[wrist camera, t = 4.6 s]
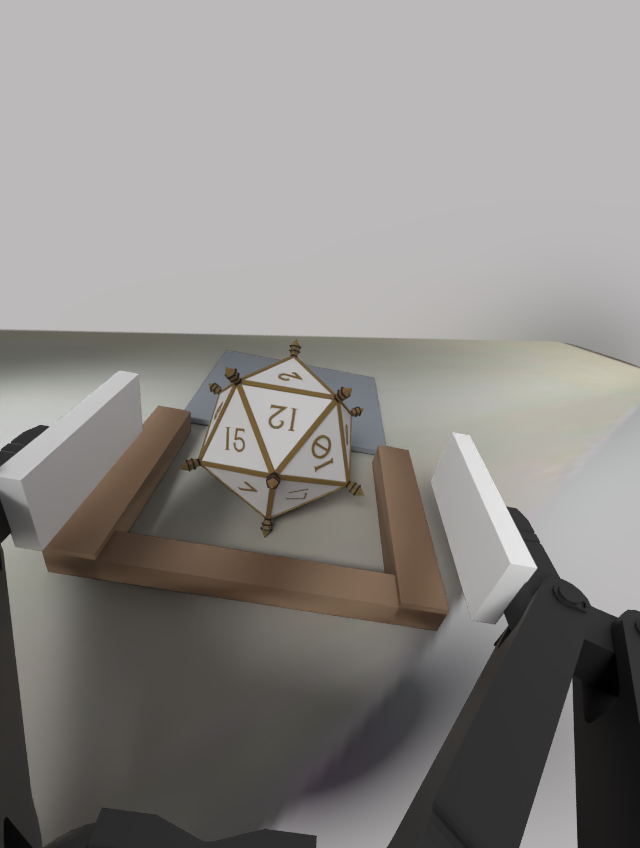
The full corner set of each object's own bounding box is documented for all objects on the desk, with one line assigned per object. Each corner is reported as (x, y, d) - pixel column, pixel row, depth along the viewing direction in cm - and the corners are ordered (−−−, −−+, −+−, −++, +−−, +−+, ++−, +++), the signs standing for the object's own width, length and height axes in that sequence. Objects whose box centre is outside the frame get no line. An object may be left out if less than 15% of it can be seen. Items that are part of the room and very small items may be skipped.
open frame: (47, 571, 15) (40, 546, 14) (159, 425, 25) (158, 405, 24) (436, 630, 16) (449, 610, 15) (401, 468, 26) (408, 450, 25)
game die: (256, 516, 25) (280, 365, 26) (380, 548, 20) (404, 364, 21) (127, 524, 17) (169, 309, 18) (281, 579, 13) (325, 291, 14)
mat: (180, 420, 26) (180, 415, 25) (226, 353, 36) (226, 349, 36) (385, 456, 26) (387, 452, 26) (373, 381, 36) (374, 377, 36)
